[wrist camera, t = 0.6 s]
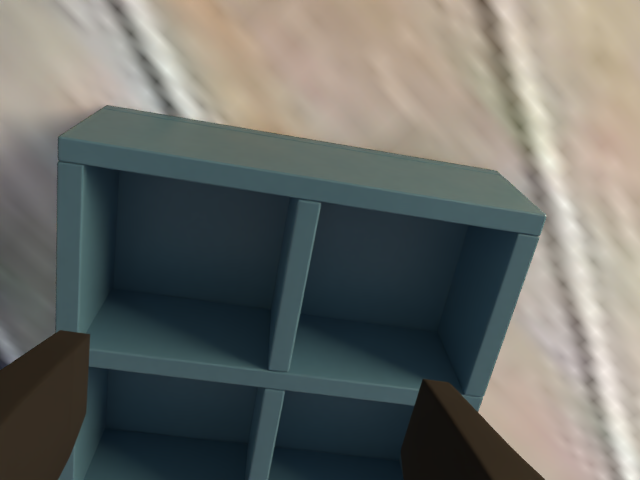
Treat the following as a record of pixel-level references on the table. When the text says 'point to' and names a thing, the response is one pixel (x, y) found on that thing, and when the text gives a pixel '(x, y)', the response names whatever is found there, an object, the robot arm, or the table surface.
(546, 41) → the table surface
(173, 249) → the carrier
